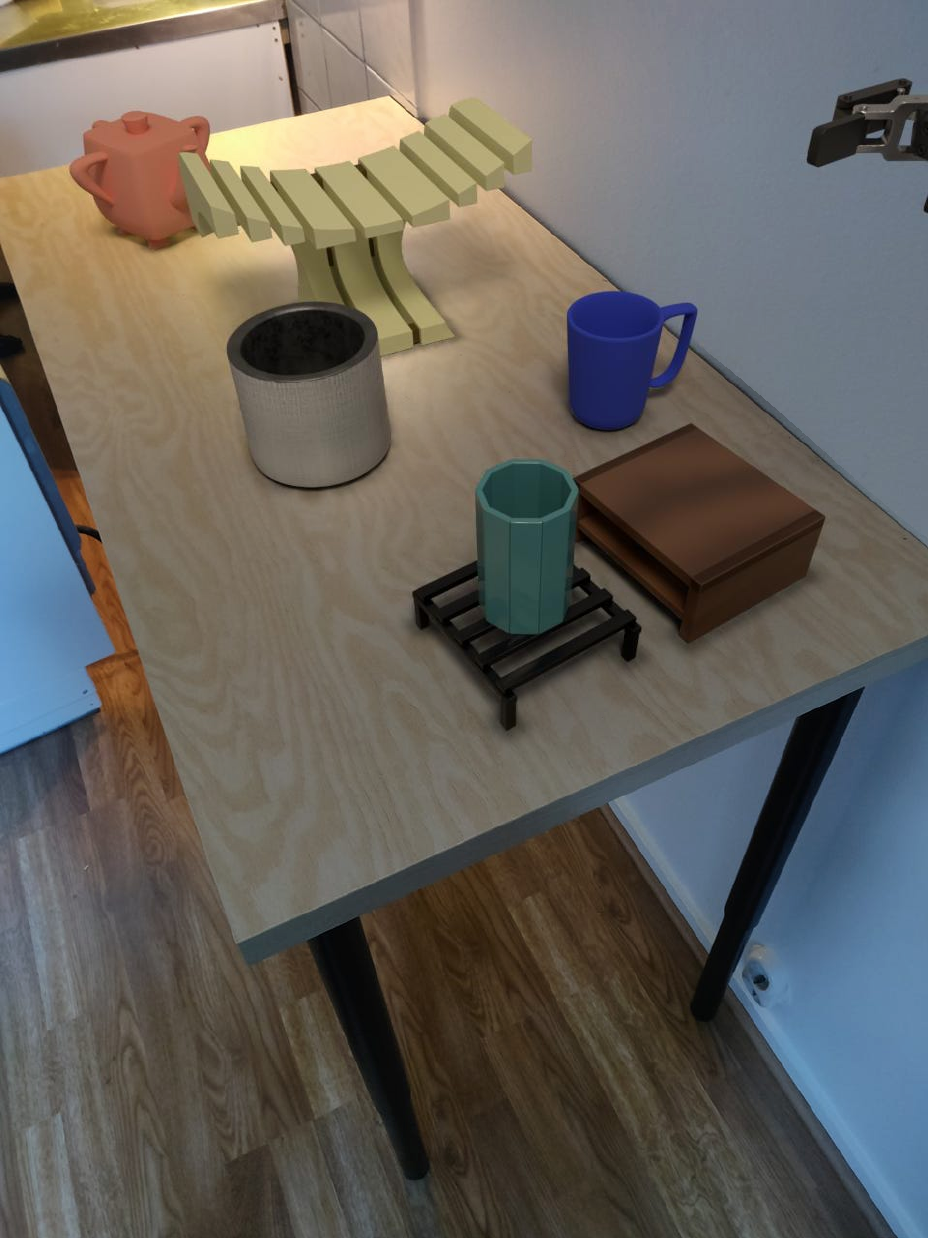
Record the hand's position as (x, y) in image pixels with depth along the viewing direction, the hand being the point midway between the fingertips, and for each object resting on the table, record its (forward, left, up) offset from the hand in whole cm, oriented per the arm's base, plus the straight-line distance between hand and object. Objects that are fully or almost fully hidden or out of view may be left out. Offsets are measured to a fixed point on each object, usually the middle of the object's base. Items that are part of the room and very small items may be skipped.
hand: (870, 171), depth 52 cm
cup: (+2, +22, -24) cm, 33 cm away
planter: (+31, +24, -28) cm, 48 cm away
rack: (+2, +23, -28) cm, 36 cm away
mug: (+20, -2, -28) cm, 35 cm away
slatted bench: (+49, +9, -28) cm, 57 cm away
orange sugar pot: (+83, +19, -28) cm, 90 cm away
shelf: (+2, +7, -28) cm, 29 cm away
